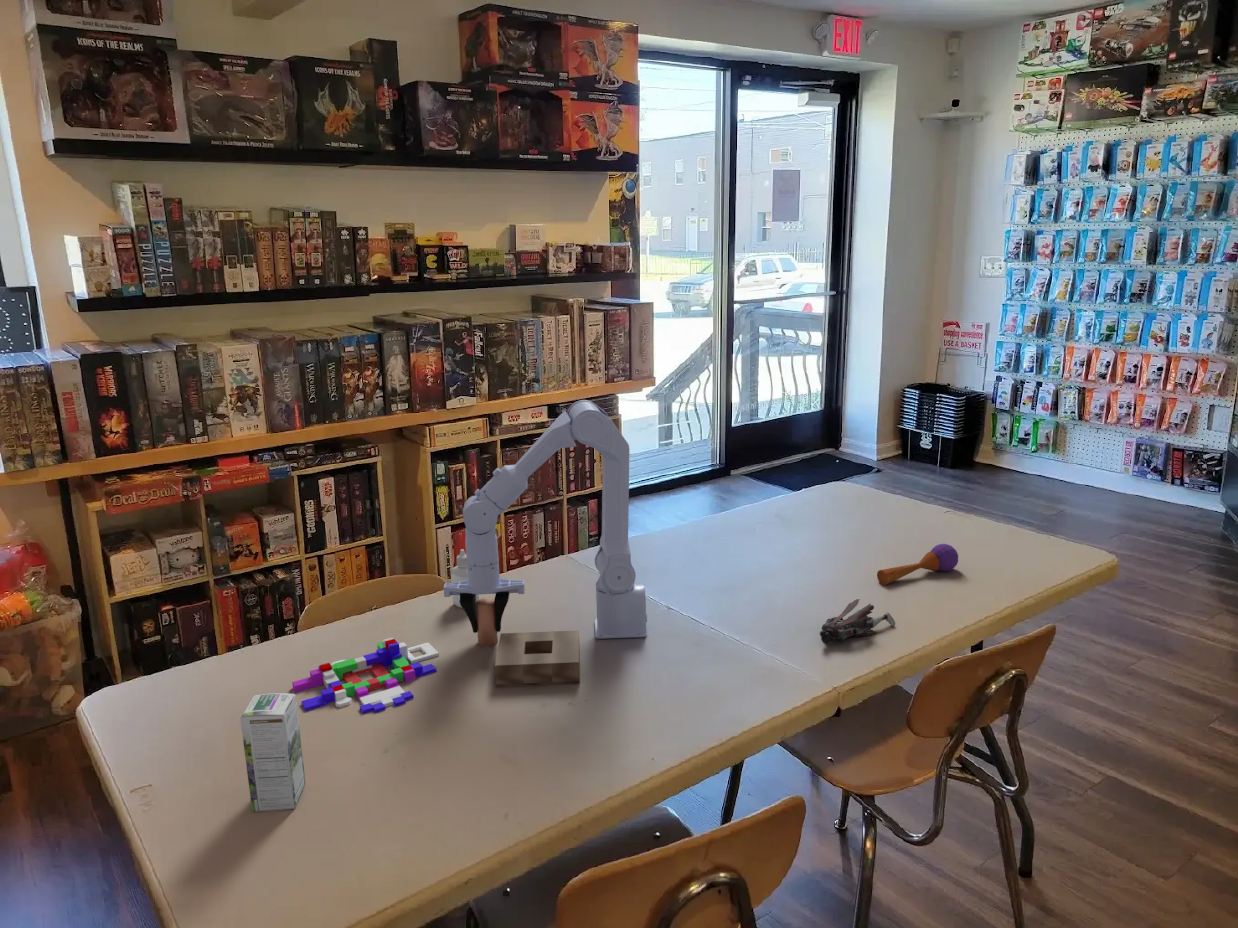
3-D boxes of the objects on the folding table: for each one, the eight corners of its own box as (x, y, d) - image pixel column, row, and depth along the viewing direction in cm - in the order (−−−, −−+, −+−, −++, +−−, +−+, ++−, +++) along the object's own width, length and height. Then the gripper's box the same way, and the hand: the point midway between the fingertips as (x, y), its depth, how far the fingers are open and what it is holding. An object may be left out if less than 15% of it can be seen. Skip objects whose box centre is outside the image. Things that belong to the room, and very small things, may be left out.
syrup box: (264, 786, 126) (251, 693, 122) (307, 784, 126) (295, 691, 122) (251, 813, 120) (237, 716, 116) (297, 809, 121) (284, 713, 117)
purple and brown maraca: (871, 561, 192) (942, 539, 200) (874, 588, 193) (945, 565, 200) (890, 566, 186) (962, 542, 194) (893, 593, 187) (966, 569, 195)
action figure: (862, 618, 176) (802, 643, 165) (862, 589, 175) (802, 612, 164) (897, 629, 170) (838, 656, 159) (898, 599, 169) (839, 623, 158)
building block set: (318, 733, 140) (315, 707, 138) (285, 679, 156) (282, 656, 155) (467, 686, 153) (465, 662, 151) (422, 641, 169) (420, 619, 168)
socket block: (579, 650, 163) (578, 630, 162) (579, 683, 152) (579, 661, 151) (501, 653, 163) (500, 633, 162) (496, 686, 151) (495, 665, 150)
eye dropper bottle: (460, 612, 180) (456, 556, 177) (451, 602, 185) (447, 547, 182) (481, 607, 182) (477, 552, 179) (471, 597, 187) (467, 543, 184)
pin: (498, 637, 169) (496, 597, 167) (496, 645, 166) (494, 605, 164) (479, 637, 169) (476, 598, 167) (477, 646, 166) (474, 606, 164)
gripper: (524, 551, 167) (527, 618, 171) (445, 554, 167) (450, 621, 170) (521, 565, 161) (525, 635, 164) (439, 568, 160) (445, 638, 164)
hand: (487, 629), depth 167 cm, fingers closed on pin, 4 cm apart
